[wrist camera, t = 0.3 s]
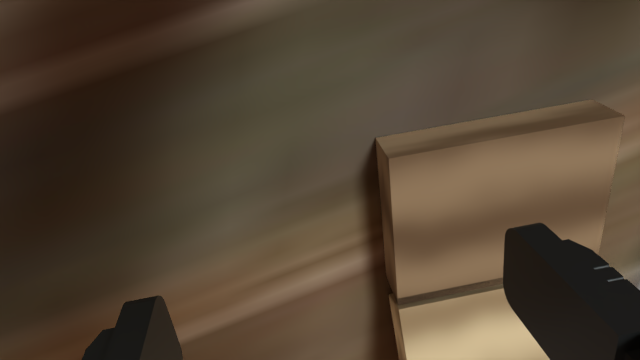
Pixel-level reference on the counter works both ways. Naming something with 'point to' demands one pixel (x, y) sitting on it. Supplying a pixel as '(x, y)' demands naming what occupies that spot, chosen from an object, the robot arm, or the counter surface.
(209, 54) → the counter surface
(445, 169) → the wooden block
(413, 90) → the counter surface
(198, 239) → the counter surface
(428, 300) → the oak plank
